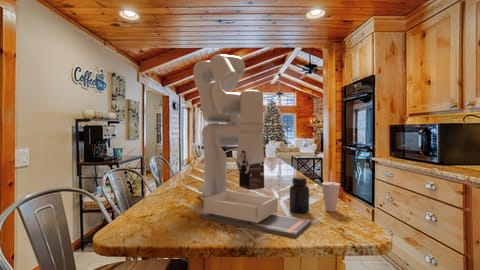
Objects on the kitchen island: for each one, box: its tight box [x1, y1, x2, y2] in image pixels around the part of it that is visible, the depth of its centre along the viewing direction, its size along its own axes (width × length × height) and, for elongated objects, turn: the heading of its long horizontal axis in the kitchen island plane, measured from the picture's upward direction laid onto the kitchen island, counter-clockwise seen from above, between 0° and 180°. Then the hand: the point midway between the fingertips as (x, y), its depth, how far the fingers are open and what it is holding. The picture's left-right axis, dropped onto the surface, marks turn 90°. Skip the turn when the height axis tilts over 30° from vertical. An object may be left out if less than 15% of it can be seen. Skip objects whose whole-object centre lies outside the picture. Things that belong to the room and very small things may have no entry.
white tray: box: [202, 190, 278, 223], centre depth 93 cm, size 20×14×5 cm
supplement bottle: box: [289, 176, 310, 215], centre depth 100 cm, size 7×7×12 cm
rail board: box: [199, 212, 312, 239], centre depth 90 cm, size 33×14×1 cm, turn 58°
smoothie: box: [321, 171, 341, 212], centre depth 102 cm, size 6×6×14 cm
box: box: [238, 164, 265, 191], centre depth 90 cm, size 6×6×7 cm
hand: (251, 183), depth 90 cm, fingers closed on box, 8 cm apart
